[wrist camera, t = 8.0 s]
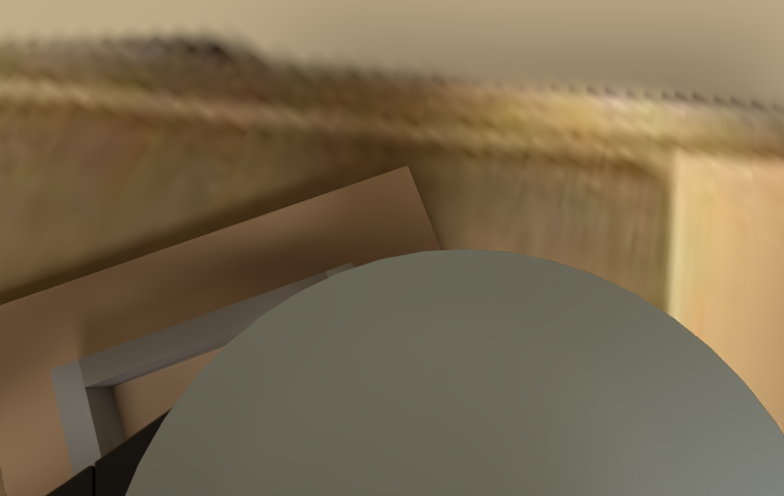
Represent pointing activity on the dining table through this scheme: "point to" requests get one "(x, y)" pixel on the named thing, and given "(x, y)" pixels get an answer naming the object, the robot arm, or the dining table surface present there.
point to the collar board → (172, 322)
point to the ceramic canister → (465, 393)
